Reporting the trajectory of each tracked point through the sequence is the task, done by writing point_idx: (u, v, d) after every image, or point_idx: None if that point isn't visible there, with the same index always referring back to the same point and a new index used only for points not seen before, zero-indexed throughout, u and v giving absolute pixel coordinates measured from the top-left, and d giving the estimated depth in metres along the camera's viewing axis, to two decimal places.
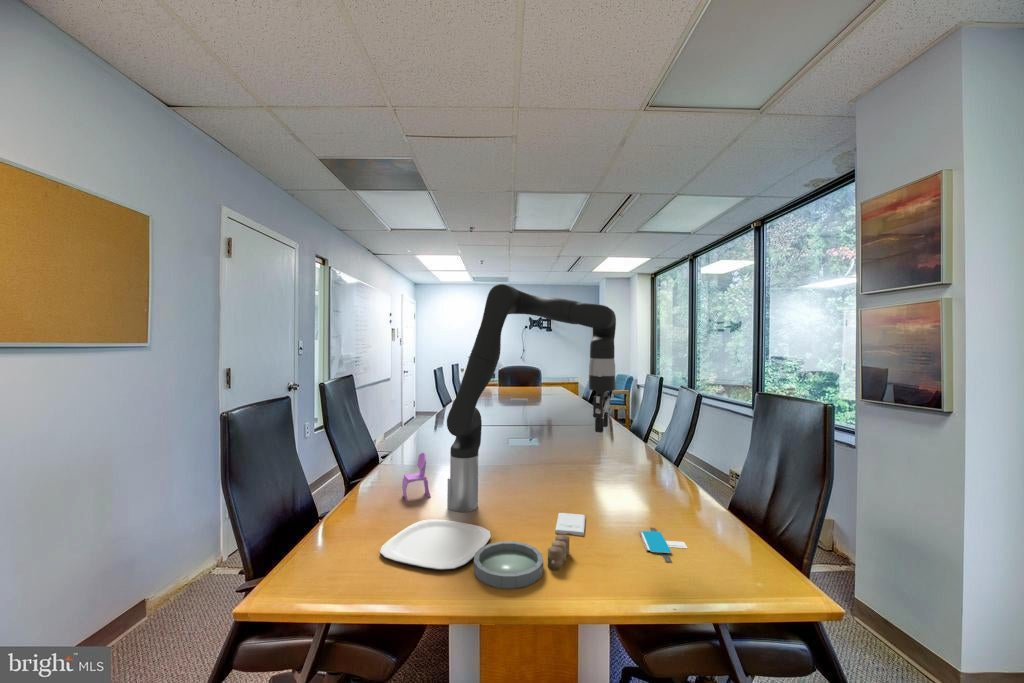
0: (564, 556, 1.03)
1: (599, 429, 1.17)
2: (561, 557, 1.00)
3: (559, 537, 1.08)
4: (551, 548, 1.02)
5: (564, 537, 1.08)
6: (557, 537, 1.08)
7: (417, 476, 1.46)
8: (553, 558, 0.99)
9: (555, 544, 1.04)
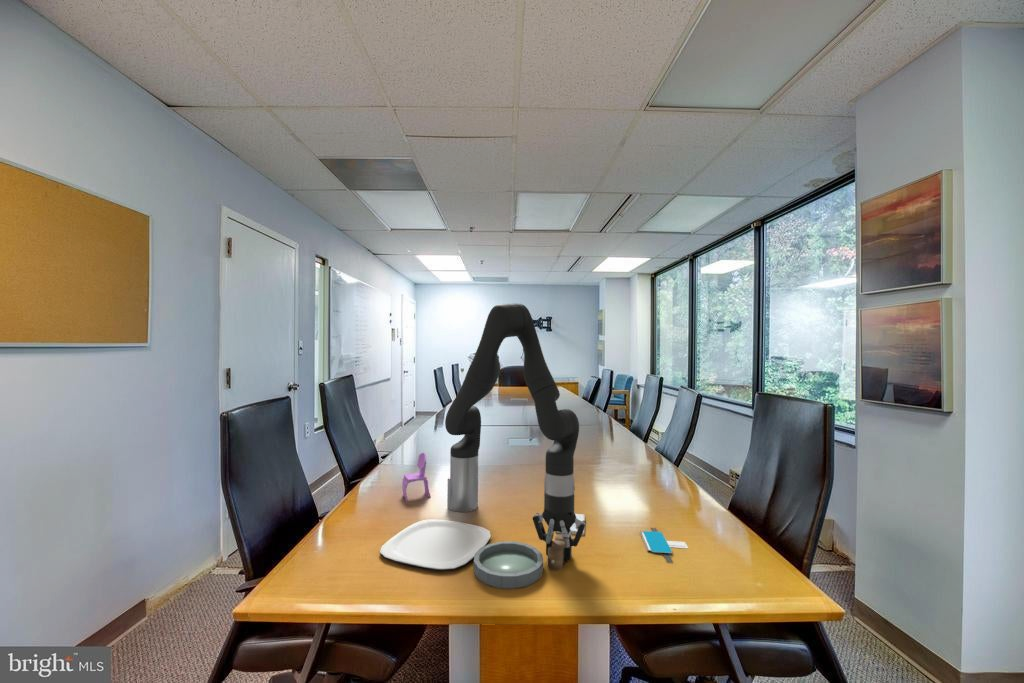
0: None
1: (570, 557, 1.03)
2: (561, 557, 1.00)
3: (558, 537, 1.08)
4: (551, 548, 1.02)
5: None
6: (557, 537, 1.08)
7: (417, 476, 1.46)
8: (553, 558, 0.99)
9: (555, 544, 1.04)
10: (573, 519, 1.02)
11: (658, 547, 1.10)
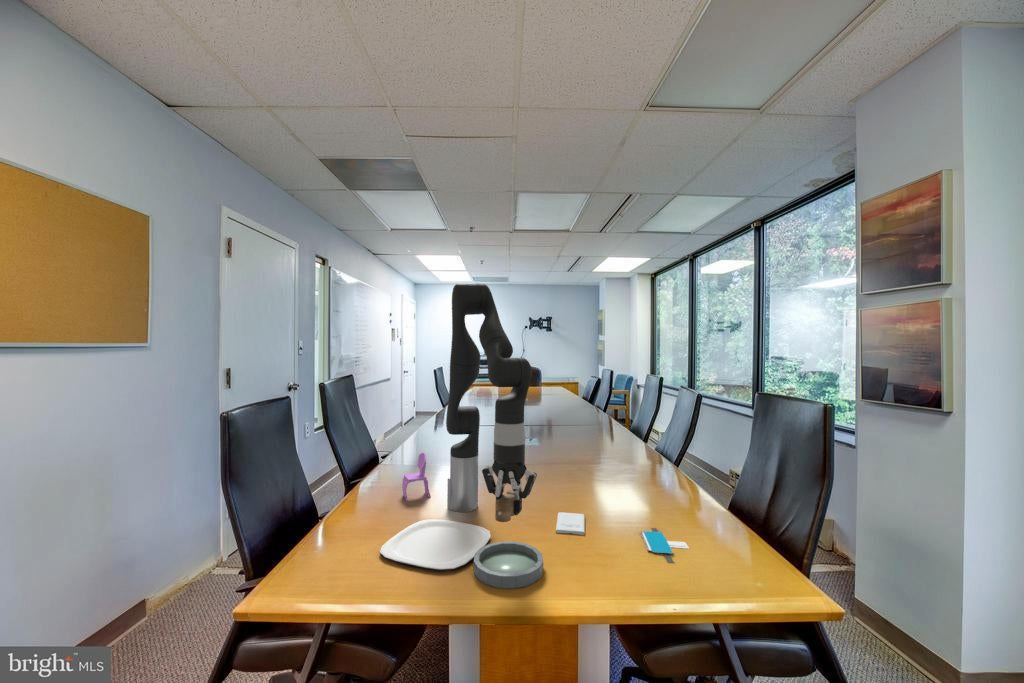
0: (513, 509, 0.98)
1: (520, 510, 0.99)
2: (509, 509, 0.95)
3: (510, 491, 1.03)
4: (499, 500, 0.97)
5: None
6: (508, 491, 1.03)
7: (417, 476, 1.46)
8: (500, 509, 0.95)
9: (504, 497, 0.99)
10: (523, 470, 0.98)
11: (659, 547, 1.10)
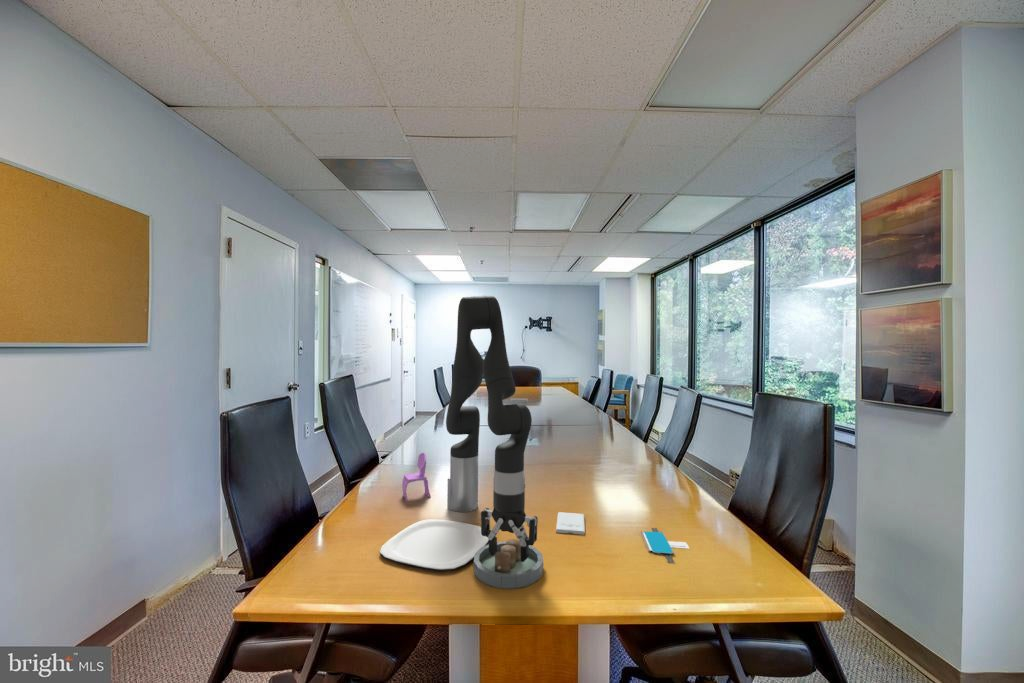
0: (513, 562, 0.98)
1: (527, 556, 0.98)
2: (508, 563, 0.95)
3: (510, 542, 1.03)
4: (499, 553, 0.97)
5: (515, 541, 1.03)
6: (508, 541, 1.03)
7: (417, 476, 1.46)
8: (499, 564, 0.95)
9: (504, 549, 0.99)
10: (522, 517, 0.97)
11: (659, 547, 1.10)
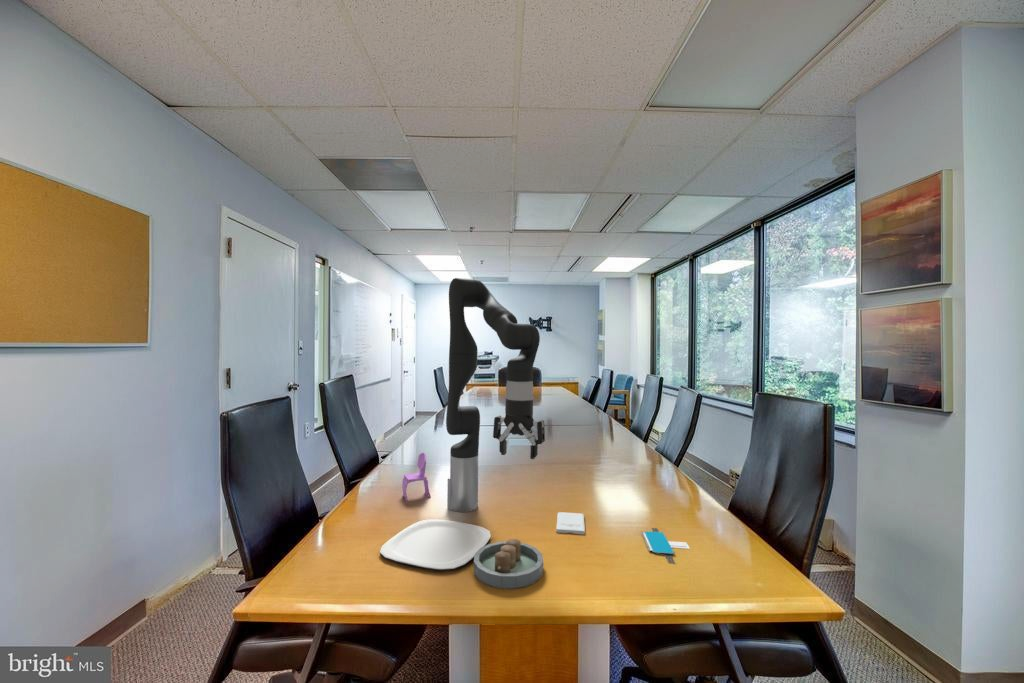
0: (513, 562, 0.98)
1: (536, 455, 1.11)
2: (508, 563, 0.95)
3: (509, 542, 1.03)
4: (499, 553, 0.97)
5: (515, 541, 1.03)
6: (508, 541, 1.03)
7: (417, 476, 1.46)
8: (499, 564, 0.95)
9: (504, 549, 0.99)
10: (530, 421, 1.11)
11: (660, 547, 1.10)
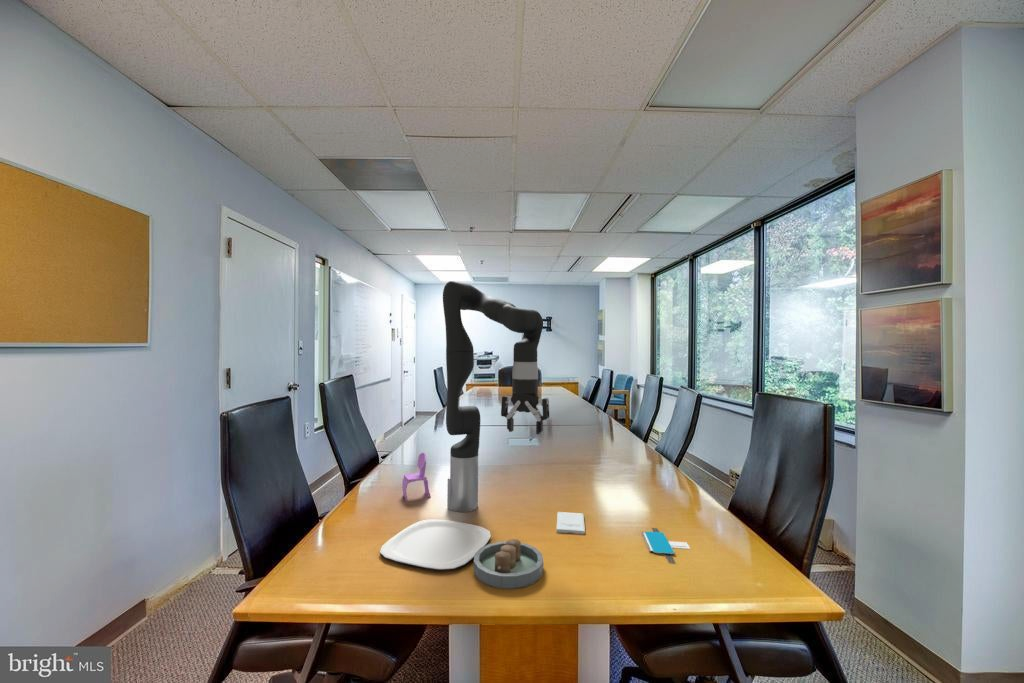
0: (513, 562, 0.98)
1: (542, 430, 1.20)
2: (508, 563, 0.95)
3: (509, 542, 1.03)
4: (499, 553, 0.97)
5: (515, 541, 1.03)
6: (508, 541, 1.03)
7: (417, 476, 1.46)
8: (499, 564, 0.95)
9: (504, 549, 0.99)
10: (536, 399, 1.20)
11: (660, 548, 1.10)
